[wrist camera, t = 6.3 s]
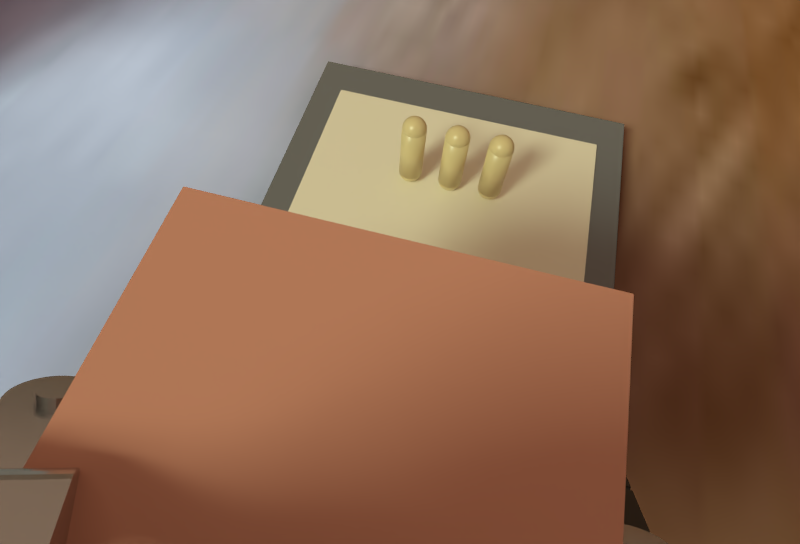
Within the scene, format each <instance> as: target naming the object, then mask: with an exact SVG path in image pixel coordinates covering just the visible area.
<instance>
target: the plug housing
mask: <svg viewBox="0 0 800 544" xmlns="http://www.w3.org/2000/svg"><path fill="white" fill-rule="evenodd" d="M633 302H634V294H632V293H628V292H624V291H619V290H615V289H611V288H607V287H603V286H598V285H594V284H590V283H586V282H582V281H577V280H573V279H569V278H565V277H561V276H556V275H552V274H548V273H544V272H540V271H535V270H531V269H527V268H523V267H519V266H514V265H510V264H506V263H502V262H498V261H494V260H489V259H485V258H481V257H477V256H473V255H468V254H464V253H460V252H456V251H452V250H447V249H443V248H439V247H435V246H431V245H426V244H422V243H418V242H414V241H410V240H405V239H401V238H397V237H393V236H389V235H384V234H380V233H376V232H372V231H368V230H364V229H359V228H355V227H351V226H347V225H343V224H338V223H334V222H330V221H326V220H322V219H317V218H313V217H309V216H305V215H301V214H296V213H292V212H288V211H284V210H280V209H275V208H271V207H267V206H263V205H259V204H254V203H250V202H246V201H242V200H238V199H234V198H229V197H225V196H221V195H217V194H213V193H208V192H204V191H200V190H196V189H192V188H187V187H183V188H182V190H181V192H180V193H179V195H178V197H177V199H176V201H175V202H174V204H173V206H172V208H171V209H170V211H169V213H168V215H167V216H166V218H165V220H164V222H163V223H162V225H161V227H160V229H159V230H158V232H157V234H156V236H155V237H154V239H153V241H152V243H151V244H150V246H149V248H148V250H147V251H146V253H145V255H144V257H143V258H142V260H141V262H140V264H139V265H138V267H137V269H136V271H135V272H134V274H133V276H132V278H131V279H130V281H129V283H128V285H127V287H126V288H125V290H124V292H123V294H122V295H121V297H120V299H119V301H118V302H117V304H116V306H115V308H114V309H113V311H112V313H111V315H110V316H109V318H108V320H107V322H106V323H105V325H104V327H103V329H102V330H101V332H100V334H99V336H98V337H97V339H96V341H95V343H94V344H93V346H92V348H91V350H90V351H89V353H88V355H87V357H86V358H85V360H84V362H83V364H82V365H81V367H80V369H79V371H78V373H77V374H76V376H75V378H74V380H73V381H72V383H71V385H70V387H69V388H68V390H67V392H66V394H65V395H64V397H63V399H62V401H61V402H60V404H59V406H58V408H57V409H56V411H55V413H54V415H53V416H52V418H51V420H50V422H49V423H48V425H47V427H46V429H45V430H44V432H43V434H42V436H41V437H40V439H39V441H38V443H37V444H36V446H35V448H34V450H33V451H32V453H31V455H30V457H29V459H28V460H27V462H26V464H25V466H24V467H23V468H80V474H79V479H78V484H77V490H76V495H75V500H74V506H73V511H72V516H71V521H70V527H69V532H68V537H67V543H66V544H623V532H624V509H625V486H626V463H627V440H628V417H629V394H630V371H631V348H632V325H633Z"/></svg>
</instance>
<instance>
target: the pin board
mask: <svg viewBox="0 0 800 544" xmlns="http://www.w3.org/2000/svg"><path fill="white" fill-rule="evenodd" d="M623 136H624V124H621V123H617V122H612V121H607V120H603V119H598V118H593V117H588V116H584V115H579V114H574V113H569V112H565V111H560V110H555V109H551V108H546V107H541V106H536V105H532V104H527V103H522V102H517V101H513V100H508V99H503V98H498V97H494V96H489V95H484V94H480V93H475V92H470V91H465V90H461V89H456V88H451V87H446V86H442V85H437V84H432V83H428V82H423V81H418V80H413V79H409V78H404V77H399V76H394V75H390V74H385V73H380V72H375V71H371V70H366V69H361V68H357V67H352V66H347V65H342V64H338V63H333V62H328V63H327V65H326V68H325V70H324V72H323V74H322V76H321V78H320V80H319V82H318V85H317V87H316V89H315V91H314V93H313V95H312V97H311V100H310V102H309V104H308V106H307V108H306V110H305V112H304V115H303V117H302V119H301V121H300V123H299V125H298V127H297V129H296V132H295V134H294V136H293V138H292V140H291V142H290V144H289V147H288V149H287V151H286V153H285V155H284V157H283V159H282V161H281V164H280V166H279V168H278V170H277V172H276V174H275V176H274V179H273V181H272V183H271V185H270V187H269V189H268V191H267V193H266V196H265V198H264V200H263V202H262V204H261V205H263V206H267V207H271V208H275V209H280V210H284V211H288V212H292V213H296V214H301V215H305V216H309V217H313V218H317V219H322V220H326V221H330V222H334V223H338V224H343V225H347V226H351V227H355V228H359V229H364V230H368V231H372V232H376V233H380V234H384V235H389V236H393V237H397V238H401V239H405V240H410V241H414V242H418V243H422V244H426V245H431V246H435V247H439V248H443V249H447V250H452V251H456V252H460V253H464V254H468V255H473V256H477V257H481V258H485V259H489V260H494V261H498V262H502V263H506V264H510V265H514V266H519V267H523V268H527V269H531V270H535V271H540V272H544V273H548V274H552V275H556V276H561V277H565V278H569V279H573V280H577V281H582V282H586V283H590V284H594V285H598V286H603V287H607V288H611V289H614V281H615V264H616V248H617V232H618V216H619V200H620V184H621V168H622V152H623Z"/></svg>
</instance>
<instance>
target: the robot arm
mask: <svg viewBox="0 0 800 544" xmlns="http://www.w3.org/2000/svg"><path fill="white" fill-rule="evenodd" d="M74 378H75V376H50V377H43V378H38V379H34V380H30V381H27V382H24V383H21V384H19V385H17V386H15V387H13V388H11V389H10V390H8V391H7V392H6V393H5V394H4V395H3V396H2V397H1V399H0V544H66V543H67V537H68V532H69V527H70V521H71V516H72V511H73V506H74V500H75V495H76V490H77V484H78V479H79V474H80V468H23V467H24V466H25V464H26V462H27V460H28V459H29V457H30V455H31V453H32V451H33V450H34V448H35V446H36V444H37V443H38V441H39V439H40V437H41V436H42V434H43V432H44V430H45V429H46V427H47V425H48V423H49V422H50V420H51V418H52V416H53V415H54V413H55V411H56V409H57V408H58V406H59V404H60V402H61V401H62V399H63V397H64V395H65V394H66V392H67V390H68V388H69V387H70V385H71V383H72V381H73V380H74ZM623 544H668V543H667V542H665V541H664V540H662V539H660V538H659V537H657V536H655V535H654V534H651V533H650V531H649V529H648V526H647V524H646V522H645V519H644V517H643V515H642V512H641V510H640V508H639V505H638V503H637V501H636V498H635V496H634V494H633V491H631V490H630V484H629V482H628V480H627V477H626V486H625V509H624V532H623Z"/></svg>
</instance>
